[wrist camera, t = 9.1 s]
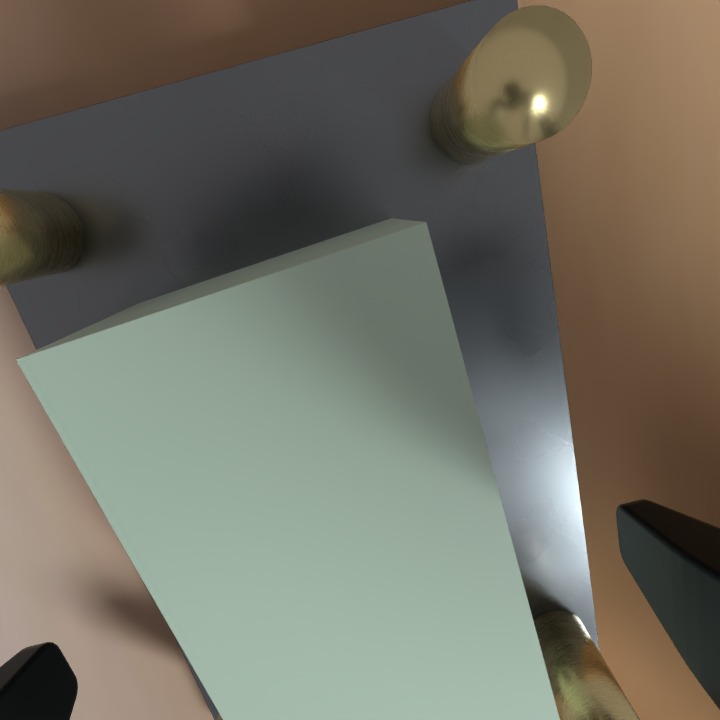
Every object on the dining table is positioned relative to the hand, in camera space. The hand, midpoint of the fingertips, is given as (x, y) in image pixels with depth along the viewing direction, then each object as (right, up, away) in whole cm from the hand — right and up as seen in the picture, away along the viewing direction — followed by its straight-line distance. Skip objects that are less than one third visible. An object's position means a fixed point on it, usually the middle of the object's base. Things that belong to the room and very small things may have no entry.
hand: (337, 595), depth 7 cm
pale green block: (0, +1, +4) cm, 4 cm away
